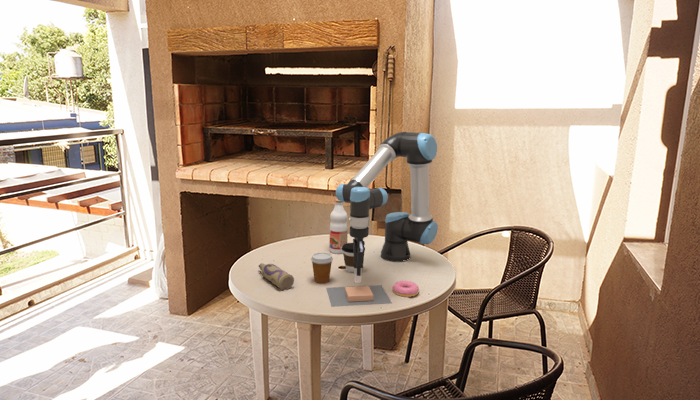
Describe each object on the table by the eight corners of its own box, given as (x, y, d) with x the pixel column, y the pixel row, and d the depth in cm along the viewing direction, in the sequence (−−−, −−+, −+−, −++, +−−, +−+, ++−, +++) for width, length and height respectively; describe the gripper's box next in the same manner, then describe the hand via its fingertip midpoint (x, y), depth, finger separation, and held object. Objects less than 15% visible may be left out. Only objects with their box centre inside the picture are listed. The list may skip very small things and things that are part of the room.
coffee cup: (336, 270, 211) (336, 245, 209) (352, 264, 219) (352, 240, 217) (353, 276, 204) (354, 251, 202) (369, 270, 212) (370, 246, 209)
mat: (381, 286, 194) (381, 285, 194) (392, 304, 177) (392, 303, 176) (326, 289, 190) (326, 287, 190) (331, 308, 173) (331, 306, 172)
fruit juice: (348, 253, 234) (349, 201, 228) (330, 254, 233) (331, 201, 227) (345, 248, 243) (346, 197, 237) (328, 248, 242) (329, 197, 236)
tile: (368, 286, 186) (373, 295, 178) (368, 291, 187) (373, 301, 178) (344, 287, 185) (348, 296, 176) (344, 292, 185) (348, 302, 176)
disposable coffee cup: (324, 287, 191) (324, 261, 188) (306, 282, 196) (306, 256, 193) (336, 280, 199) (337, 255, 196) (319, 276, 204) (319, 250, 201)
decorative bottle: (295, 288, 191) (295, 273, 189) (279, 292, 186) (279, 277, 185) (268, 269, 211) (267, 255, 210) (253, 272, 207) (252, 258, 205)
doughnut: (386, 292, 189) (387, 282, 188) (405, 285, 195) (406, 276, 194) (405, 301, 180) (405, 291, 179) (424, 294, 187) (424, 285, 186)
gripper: (347, 222, 184) (346, 276, 189) (352, 231, 171) (351, 289, 176) (365, 221, 185) (363, 275, 190) (371, 230, 172) (370, 288, 177)
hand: (357, 282), depth 183 cm, fingers closed
